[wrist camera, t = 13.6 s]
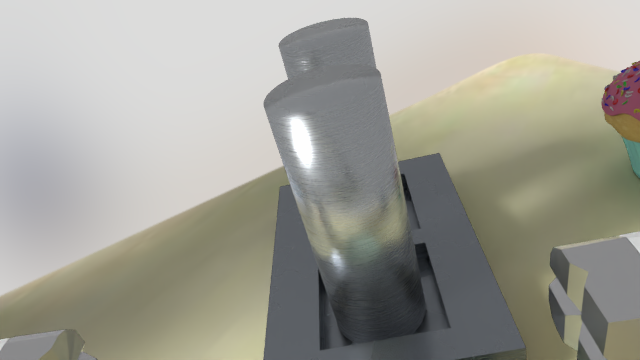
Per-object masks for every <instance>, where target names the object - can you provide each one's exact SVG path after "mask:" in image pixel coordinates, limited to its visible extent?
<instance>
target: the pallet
mask: <svg viewBox="0 0 640 360" xmlns="http://www.w3.org/2000/svg"><path fill="white" fill-rule="evenodd" d="M398 165H399V170H400V175H401V180H402V185H403V190H404V196H405V201H406V206H407V211H408V216H409V221H410V226H411V231H412V236H413V241H414V246H415V251H416V256H417V262H418V267H419V272H420V277H421V282H422V287H423V292H424V297H425V302H426V312H425V316H424V319H423V321H422V323H421V324H420V326H419V327H418V328H417V330H416V331H415V332H414V333H412V334H411V335H407V336H401V337H395V338H389V339H384V340H378V341H372V342H366V343H360V344H358V343H355V342H353V341H351V340H350V339H348V338H347V337H346V336H345V335H344V334H343V333H342V332H341V331H340V329H339V327H338V324H337V322H336V319H335V316H334V313H333V310H332V307H331V304H330V301H329V298H328V295H327V292H326V289H325V286H324V283H323V280H322V277H321V274H320V271H319V268H318V265H317V262H316V259H315V256H314V253H313V250H312V247H311V244H310V241H309V239H308V236H307V233H306V230H305V227H304V224H303V221H302V218H301V215H300V212H299V209H298V206H297V203H296V200H295V197H294V194H293V191H292V188H291V185H286V186H281V187H280V192H279V202H278V213H277V223H276V233H275V244H274V254H273V265H272V275H271V286H270V296H269V307H268V317H267V328H266V338H265V348H264V359H263V360H526V347H525V345H524V342H523V340H522V338H521V336H520V333H519V331H518V329H517V327H516V324H515V322H514V320H513V318H512V315H511V313H510V311H509V309H508V306H507V304H506V302H505V300H504V297H503V295H502V293H501V291H500V288H499V286H498V284H497V282H496V279H495V277H494V275H493V273H492V270H491V268H490V266H489V264H488V261H487V259H486V257H485V255H484V252H483V250H482V248H481V246H480V243H479V241H478V239H477V237H476V234H475V232H474V230H473V228H472V225H471V223H470V221H469V219H468V216H467V214H466V212H465V210H464V207H463V205H462V203H461V201H460V199H459V196H458V194H457V192H456V190H455V187H454V185H453V183H452V181H451V178H450V176H449V174H448V172H447V169H446V167H445V165H444V163H443V160H442V158H441V156H440V154H439V153H437V154H432V155H427V156H423V157H418V158H413V159H409V160H404V161H399V162H398Z"/></svg>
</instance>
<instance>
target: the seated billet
mask: <svg viewBox="0 0 640 360" xmlns="http://www.w3.org/2000/svg"><path fill="white" fill-rule="evenodd" d="M279 49H280V52H281V56H282V59H283V62H284V66H285V70H286V73H287V77H288V79H290V78H292V77H294V76H297V75H299V74H302V73H304V72H307V71H310V70H313V69H317V68H321V67H325V66H330V65H337V64H347V63H357V64H366V65H370V66H372V67H374V68H376V64H375V59H374V53H373V48H372V43H371V37H370V32H369V27H368V22H367V21H365V20H363V19H359V18H341V19H334V20H329V21H324V22H320V23H316V24H313V25H310V26H307V27H304V28H302V29H299V30H297V31H295V32H293V33H291V34H289V35H288V36H286V37H285V38H284V39H282V40H281V41H280V43H279Z"/></svg>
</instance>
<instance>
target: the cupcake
mask: <svg viewBox="0 0 640 360" xmlns="http://www.w3.org/2000/svg"><path fill="white" fill-rule="evenodd" d="M632 65H633V66H631V67H630V68H626V69H624V70H622V71H621V72H622V73H621V74H617V75H616V76H613V81H612V83H611V84H610V85H607V86H606V87H605V93H604V95H603V99H602V108H603V110H604V112H605V120H606V121H607V122H608V123H609V124H611V125H612V126H613V127H614V128H615V129H616V130H617V131H618V133H619V134H620V135H621V136H622V138H623V140H624V143H625V145H626V148H627V151H628V154H629V157H630V161H631V165H632V168H633V171H634V172H635V174H636V175H637V176H638V177H639V178H640V61H638V62H635V63H632Z"/></svg>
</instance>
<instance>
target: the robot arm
mask: <svg viewBox="0 0 640 360" xmlns="http://www.w3.org/2000/svg"><path fill="white" fill-rule="evenodd" d="M550 267H551V268H552V270H553V272H554V273H555V275H556V278H555V279H554V280H553V281H552V283H551V284H550V285H549V304H550V309H551V314H552V318H553V320H554V323H555V326H556V328H557V331H558V332H559V334H560V336H561V338H562V340H563V342H564V343H565V344H567V345H568V346H570V347H571V348H573V349H574V350H576V351H578V352H577V360H640V231H639V232H634V233H628V234H623V235H619V236H612V237H607V238H601V239H595V240H590V241H584V242H578V243H573V244H567V245H562V246H556V247H553V249H552V252H551V256H550ZM84 344H85V342H84V340H83V339H82V338H81V336H80V335H79V334H78V333H77V331H76V330H67V329H65V330H58V331H51V332H44V333H37V334H30V335H23V336H16V337H14V338H6V339H0V360H97V359H96V358H94V357H92V356H90V355H88V354H86V353H84V352H83V348H84Z"/></svg>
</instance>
